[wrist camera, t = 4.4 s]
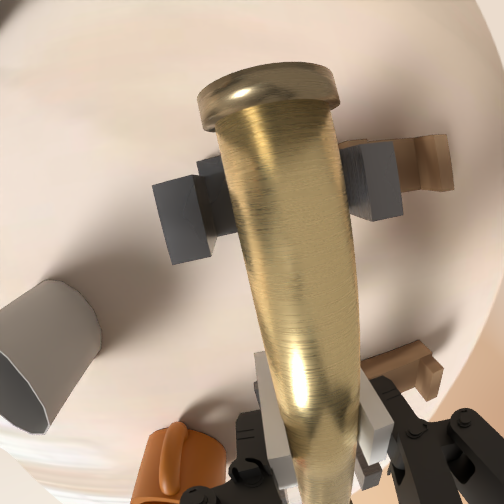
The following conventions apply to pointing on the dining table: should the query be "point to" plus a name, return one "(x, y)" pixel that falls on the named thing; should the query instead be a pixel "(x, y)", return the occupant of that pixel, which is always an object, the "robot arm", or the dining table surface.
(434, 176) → the rest
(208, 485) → the mug
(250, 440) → the robot arm
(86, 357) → the cup
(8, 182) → the dining table surface
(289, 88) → the rail
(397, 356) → the rest
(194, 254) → the post
